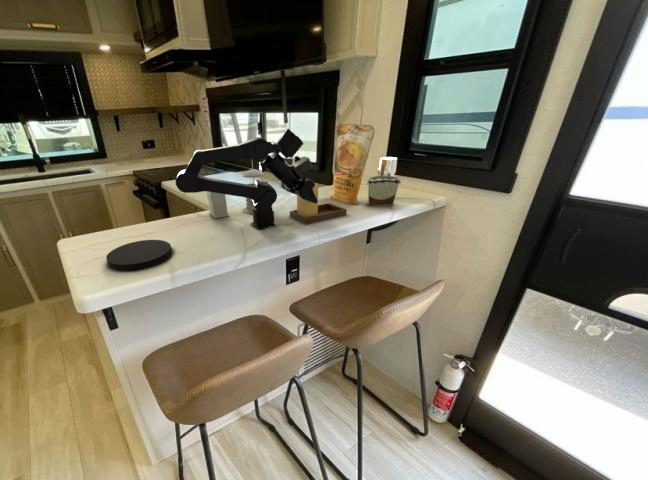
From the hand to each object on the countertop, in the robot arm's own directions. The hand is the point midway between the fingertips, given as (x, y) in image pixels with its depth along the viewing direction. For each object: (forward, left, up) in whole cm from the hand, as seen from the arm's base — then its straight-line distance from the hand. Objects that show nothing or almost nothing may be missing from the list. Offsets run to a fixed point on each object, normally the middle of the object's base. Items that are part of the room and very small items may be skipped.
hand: (311, 199), depth 109 cm
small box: (-27, +25, -7) cm, 37 cm away
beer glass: (+41, +6, -7) cm, 42 cm away
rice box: (-2, 0, -6) cm, 7 cm away
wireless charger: (-60, -1, -7) cm, 60 cm away
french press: (-12, +21, -7) cm, 25 cm away
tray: (+3, 0, -7) cm, 7 cm away
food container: (+32, -1, -7) cm, 33 cm away
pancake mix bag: (+25, +11, -7) cm, 28 cm away
